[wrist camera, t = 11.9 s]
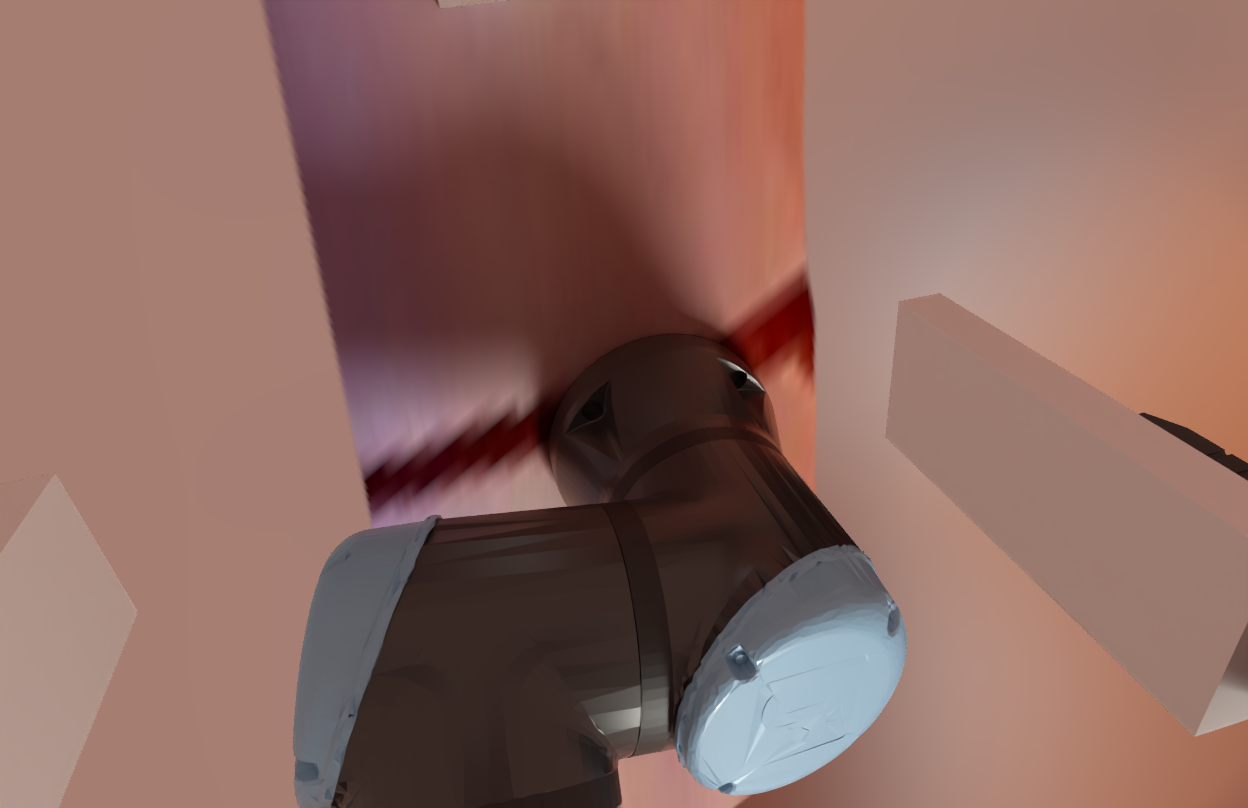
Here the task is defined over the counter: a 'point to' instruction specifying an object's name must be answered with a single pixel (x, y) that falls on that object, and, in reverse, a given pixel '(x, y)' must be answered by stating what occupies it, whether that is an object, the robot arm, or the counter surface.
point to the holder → (462, 2)
